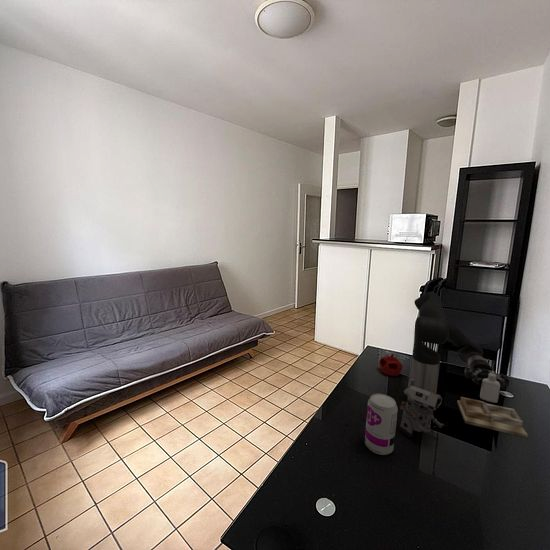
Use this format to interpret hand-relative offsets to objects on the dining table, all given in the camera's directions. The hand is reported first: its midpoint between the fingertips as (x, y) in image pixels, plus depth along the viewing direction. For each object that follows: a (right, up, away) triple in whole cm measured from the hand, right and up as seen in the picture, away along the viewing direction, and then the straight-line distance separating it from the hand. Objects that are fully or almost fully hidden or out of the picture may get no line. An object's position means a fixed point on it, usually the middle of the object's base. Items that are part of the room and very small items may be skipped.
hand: (491, 384), depth 111 cm
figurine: (-37, -9, -19) cm, 43 cm away
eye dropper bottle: (0, -7, +2) cm, 7 cm away
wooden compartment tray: (-8, -8, -10) cm, 15 cm away
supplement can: (-53, -9, -25) cm, 59 cm away
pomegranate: (-31, -3, +21) cm, 37 cm away
